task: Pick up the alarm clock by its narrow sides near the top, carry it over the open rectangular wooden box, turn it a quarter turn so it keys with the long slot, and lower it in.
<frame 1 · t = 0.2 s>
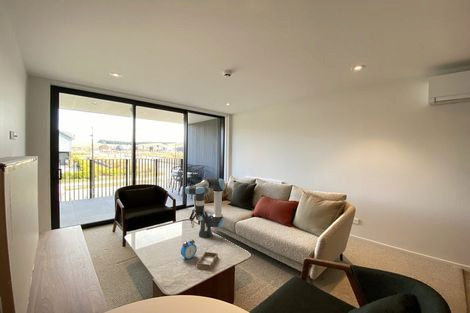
hand: (199, 229, 171), 27 cm above the table, fingers open, 13 cm apart
alarm clock: (188, 257, 175), on the table
open rectangular wooden box: (207, 262, 168), on the table
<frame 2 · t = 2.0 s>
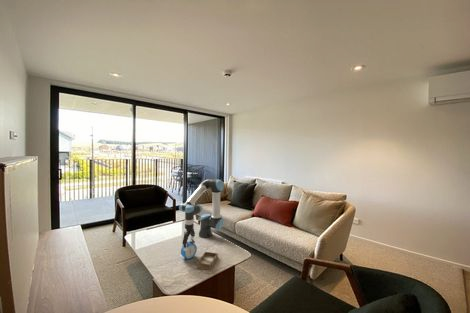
hand: (188, 247, 175), 9 cm above the table, fingers open, 13 cm apart
alarm clock: (188, 257, 175), on the table, touching gripper
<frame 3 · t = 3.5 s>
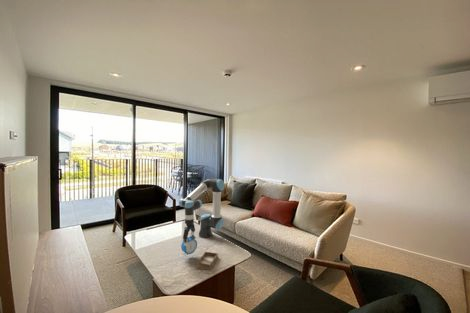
hand: (189, 242, 175), 14 cm above the table, fingers closed on alarm clock, 13 cm apart
alarm clock: (189, 253, 176), point 4 cm above the table, touching gripper
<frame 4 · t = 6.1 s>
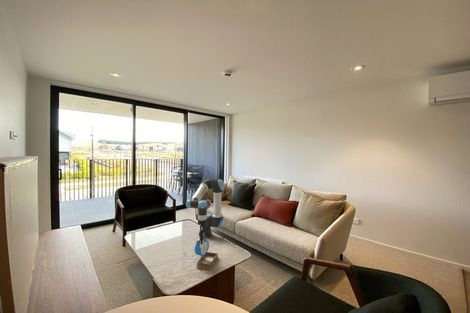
hand: (201, 243, 169), 16 cm above the table, fingers closed on alarm clock, 13 cm apart
alarm clock: (201, 255, 169), point 6 cm above the table, touching gripper
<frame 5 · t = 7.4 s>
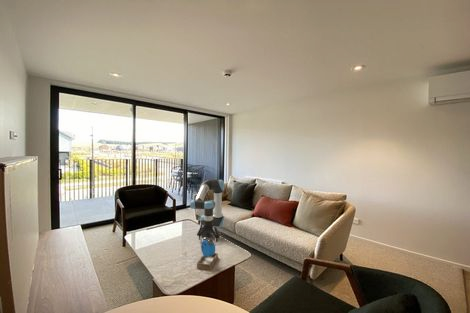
hand: (208, 244, 168), 15 cm above the table, fingers closed on alarm clock, 13 cm apart
alarm clock: (207, 255, 168), point 6 cm above the table, touching gripper
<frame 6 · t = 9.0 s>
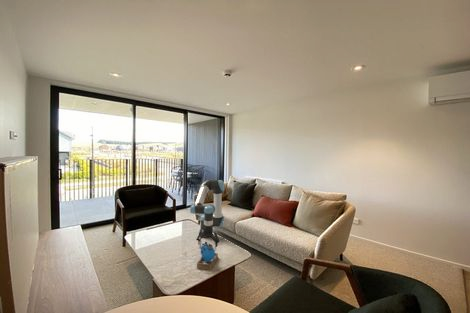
hand: (207, 249, 168), 11 cm above the table, fingers closed on alarm clock, 13 cm apart
alarm clock: (207, 260, 168), point 2 cm above the table, touching open rectangular wooden box, gripper
when the fingers open (11 cm above the table, at t = 9.5 s): alarm clock stays where it is, resting on open rectangular wooden box.
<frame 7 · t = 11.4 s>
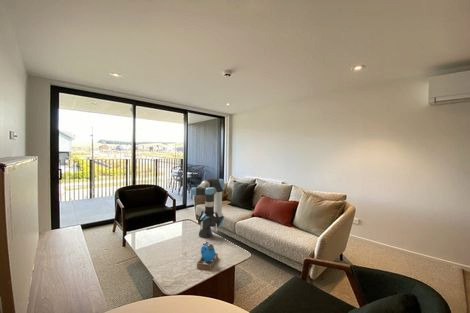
hand: (209, 230, 169), 27 cm above the table, fingers open, 13 cm apart
alarm clock: (207, 260, 168), point 2 cm above the table, touching open rectangular wooden box
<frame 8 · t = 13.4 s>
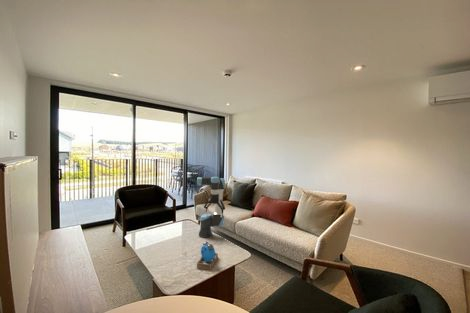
hand: (214, 216, 183), 35 cm above the table, fingers open, 13 cm apart
nothing on the table moved.
at the end: alarm clock inside the target area on the open rectangular wooden box (0.1 cm from its centre), point 1.6 cm above the open rectangular wooden box's base; alarm clock tilted 0°; the gripper is holding nothing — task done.
